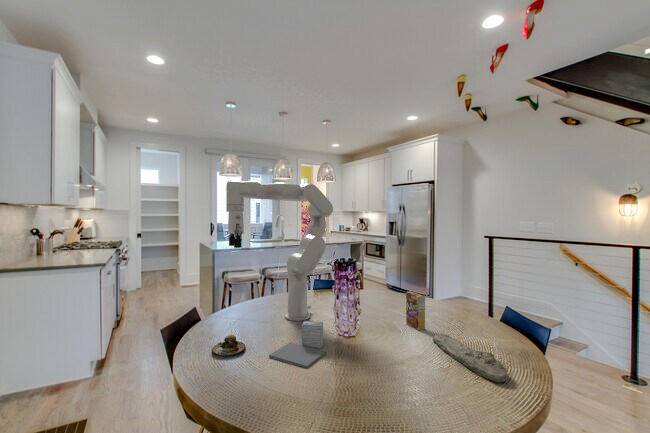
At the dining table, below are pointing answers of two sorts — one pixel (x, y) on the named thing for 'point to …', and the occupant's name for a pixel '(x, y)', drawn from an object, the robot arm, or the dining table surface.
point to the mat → (298, 354)
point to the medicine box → (312, 334)
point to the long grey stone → (473, 358)
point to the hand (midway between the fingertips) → (235, 246)
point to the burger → (229, 346)
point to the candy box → (415, 310)
